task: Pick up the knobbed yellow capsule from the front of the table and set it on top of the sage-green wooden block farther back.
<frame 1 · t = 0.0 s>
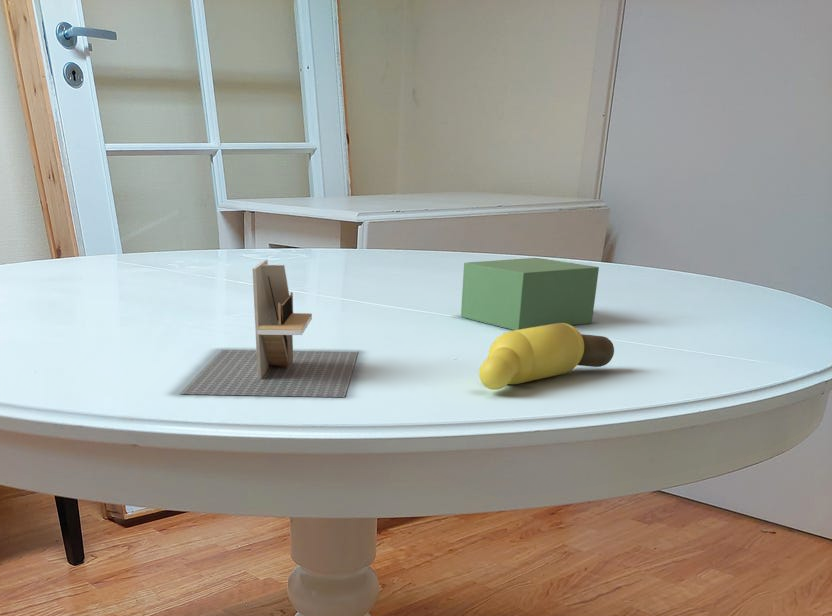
knobbed yellow capsule: (528, 376, 65), on the table, tilted 17°
architectural model: (277, 373, 67), on the table
block: (525, 320, 86), on the table
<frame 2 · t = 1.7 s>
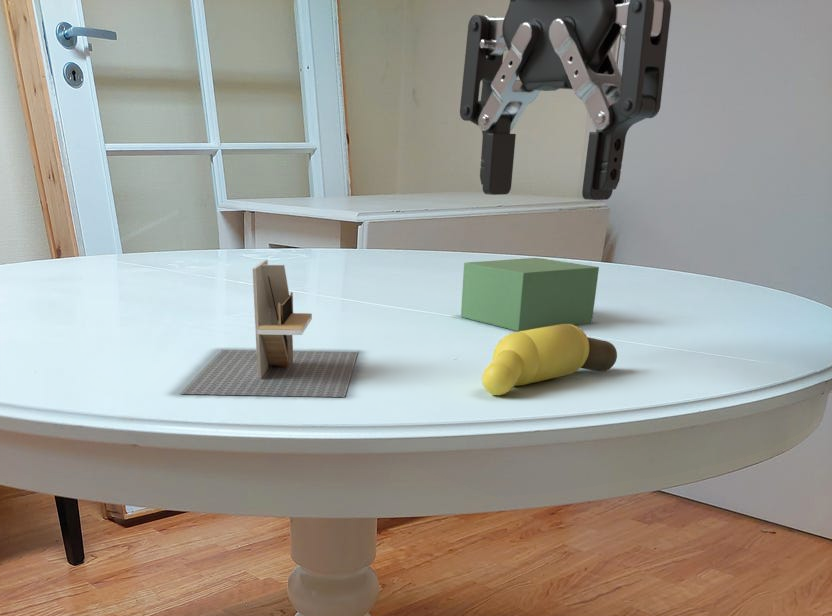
hand: (543, 196, 59), 12 cm above the table, tool pointing down, fingers open, 8 cm apart
knobbed yellow capsule: (529, 373, 65), on the table, tilted 32°
everything else where it was.
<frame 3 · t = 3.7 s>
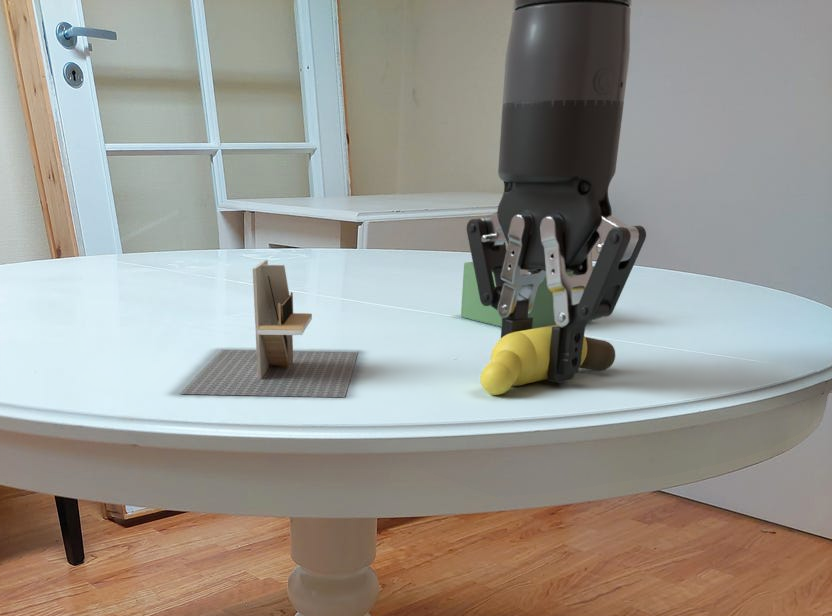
hand: (537, 374, 64), 0 cm above the table, tool pointing down, fingers closed on knobbed yellow capsule, 3 cm apart
knobbed yellow capsule: (527, 374, 65), on the table, tilted 30°, touching gripper
everything else where it was.
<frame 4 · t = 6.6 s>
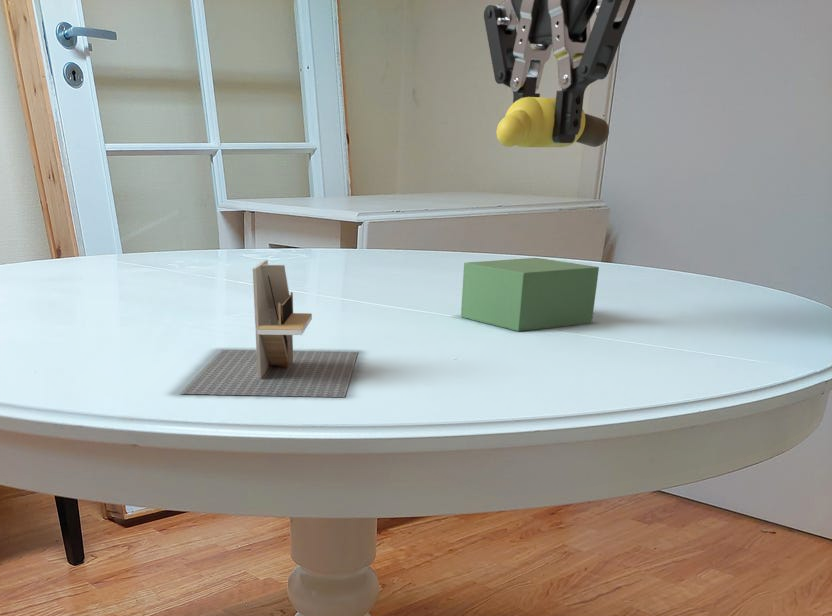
hand: (543, 141, 75), 15 cm above the table, tool pointing down, fingers closed on knobbed yellow capsule, 3 cm apart
knobbed yellow capsule: (534, 143, 76), point 15 cm above the table, tilted 31°, touching gripper
everything else where it was.
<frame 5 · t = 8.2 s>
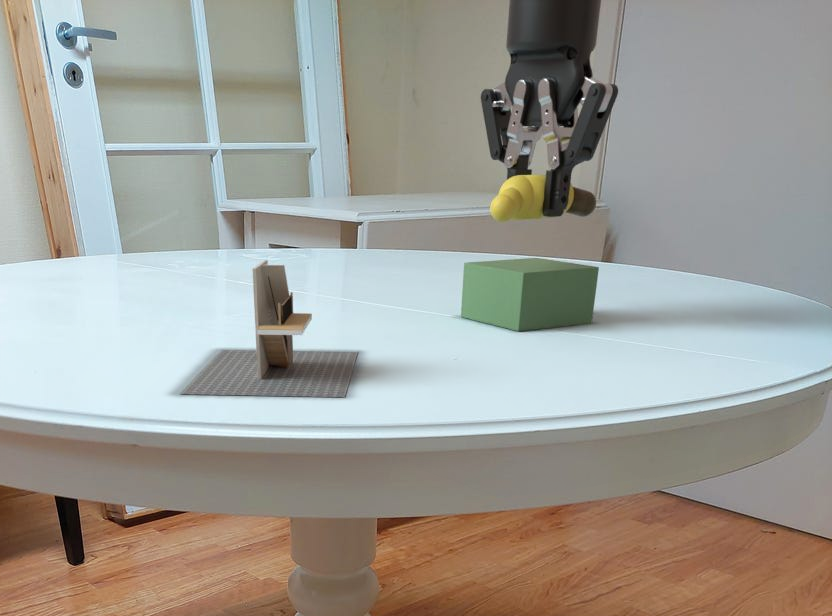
hand: (534, 214, 82), 9 cm above the table, tool pointing down, fingers closed on knobbed yellow capsule, 3 cm apart
knobbed yellow capsule: (526, 215, 82), point 9 cm above the table, tilted 31°, touching gripper
everything else where it was.
when the fingers open (5 cm above the table, at t = 9.6 s): knobbed yellow capsule stays where it is and tips over, resting on block.
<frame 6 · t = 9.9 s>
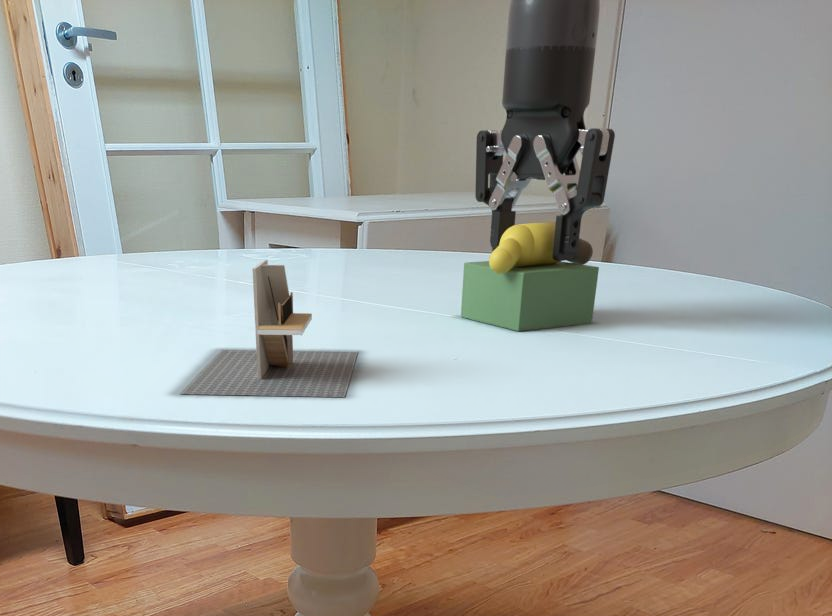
hand: (531, 256, 83), 6 cm above the table, tool pointing down, fingers open, 7 cm apart
knobbed yellow capsule: (524, 256, 84), point 6 cm above the table, tilted 49°, touching block
everything else where it was.
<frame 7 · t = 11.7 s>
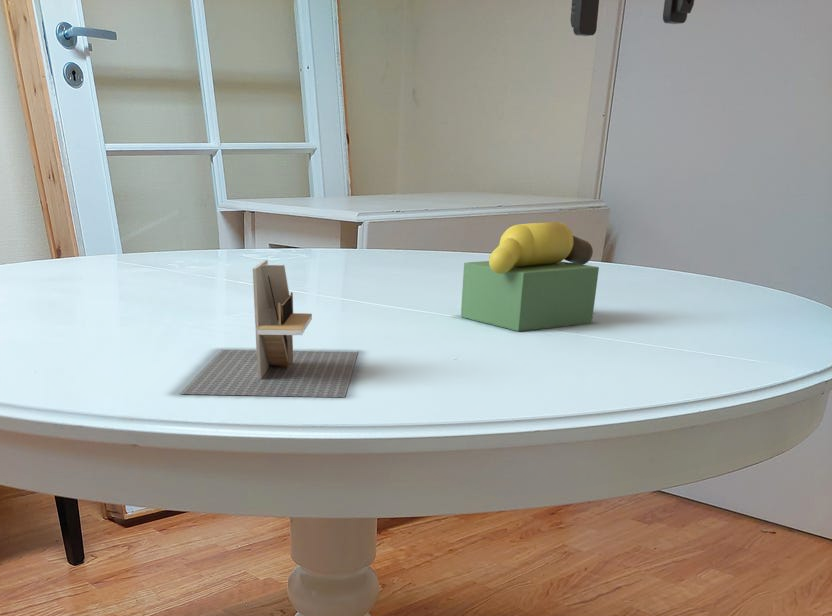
hand: (627, 29, 71), 23 cm above the table, tool pointing down, fingers open, 8 cm apart
nothing on the table moved.
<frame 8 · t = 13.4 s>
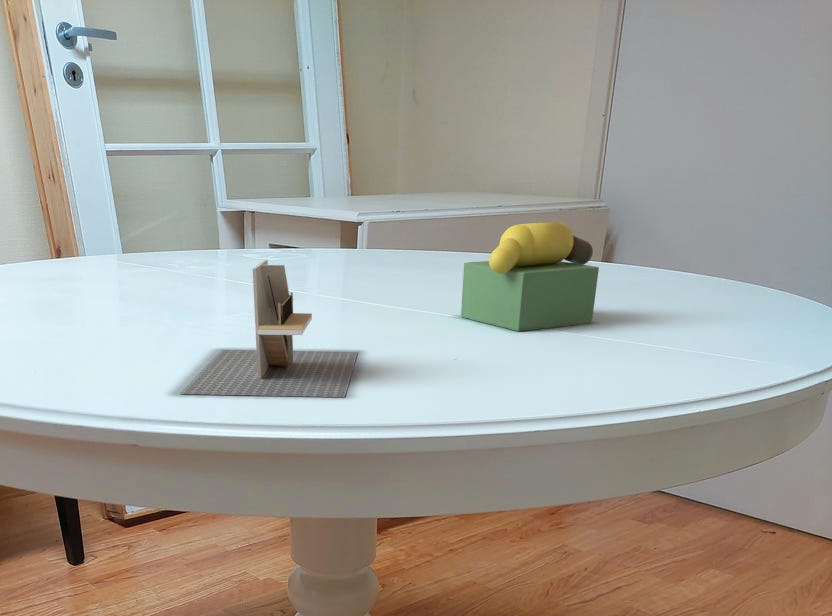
nothing on the table moved.
at the end: knobbed yellow capsule 0.8 cm off-centre on the block, point 5.6 cm above the block's base; knobbed yellow capsule touching block; the gripper is holding nothing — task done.
